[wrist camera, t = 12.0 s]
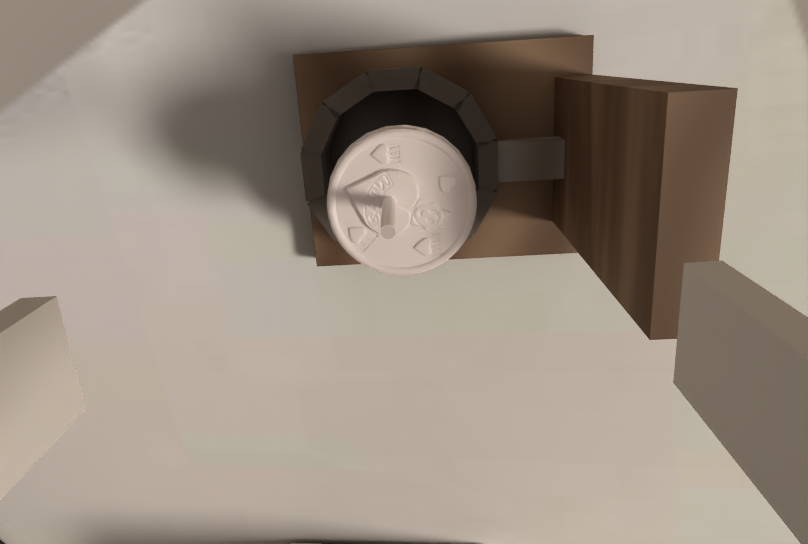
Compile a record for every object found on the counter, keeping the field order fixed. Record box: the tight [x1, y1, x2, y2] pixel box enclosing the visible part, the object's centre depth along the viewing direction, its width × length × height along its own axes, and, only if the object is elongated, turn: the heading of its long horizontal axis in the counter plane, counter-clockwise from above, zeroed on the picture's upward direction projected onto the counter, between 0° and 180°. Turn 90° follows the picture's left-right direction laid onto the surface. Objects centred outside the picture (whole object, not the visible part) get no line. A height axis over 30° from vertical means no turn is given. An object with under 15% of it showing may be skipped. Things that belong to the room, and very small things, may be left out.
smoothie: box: [327, 125, 477, 275], centre depth 28 cm, size 6×6×14 cm
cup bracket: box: [293, 35, 738, 340], centre depth 28 cm, size 16×12×18 cm
